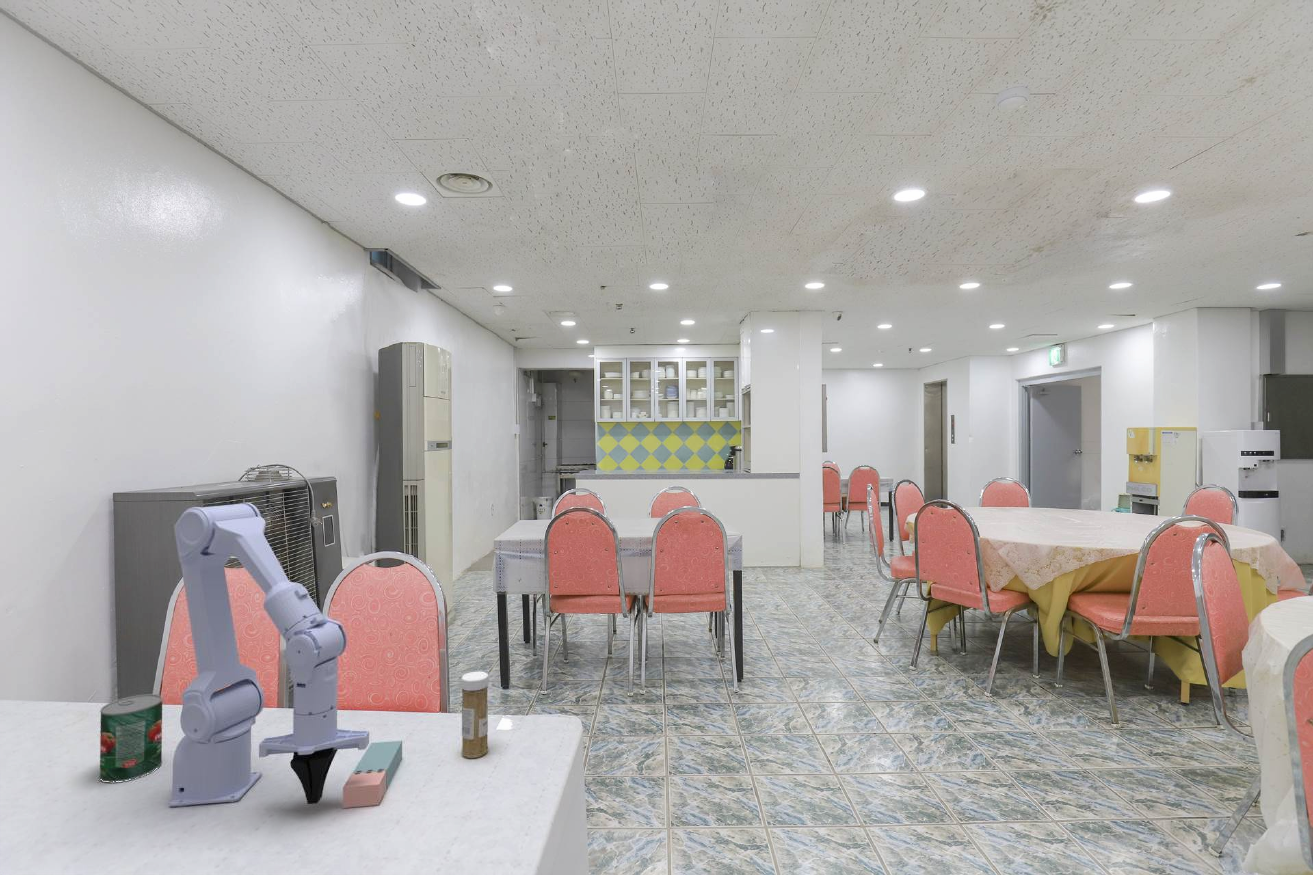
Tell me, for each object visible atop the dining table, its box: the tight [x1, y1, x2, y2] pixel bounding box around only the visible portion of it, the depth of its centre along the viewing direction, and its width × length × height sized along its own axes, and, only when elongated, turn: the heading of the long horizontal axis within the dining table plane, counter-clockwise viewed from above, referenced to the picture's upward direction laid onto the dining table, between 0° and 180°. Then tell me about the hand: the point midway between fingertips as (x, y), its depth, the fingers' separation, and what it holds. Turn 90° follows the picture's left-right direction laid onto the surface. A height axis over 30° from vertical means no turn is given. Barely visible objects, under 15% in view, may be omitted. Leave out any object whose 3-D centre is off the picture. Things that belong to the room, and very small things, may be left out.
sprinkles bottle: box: [460, 671, 490, 759], centre depth 109 cm, size 5×5×14 cm
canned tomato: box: [99, 693, 164, 782], centre depth 103 cm, size 8×8×11 cm
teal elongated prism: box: [352, 740, 403, 791], centre depth 101 cm, size 5×10×3 cm, turn 9°
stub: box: [342, 771, 387, 809], centre depth 94 cm, size 5×4×3 cm
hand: (314, 799), depth 92 cm, fingers closed
